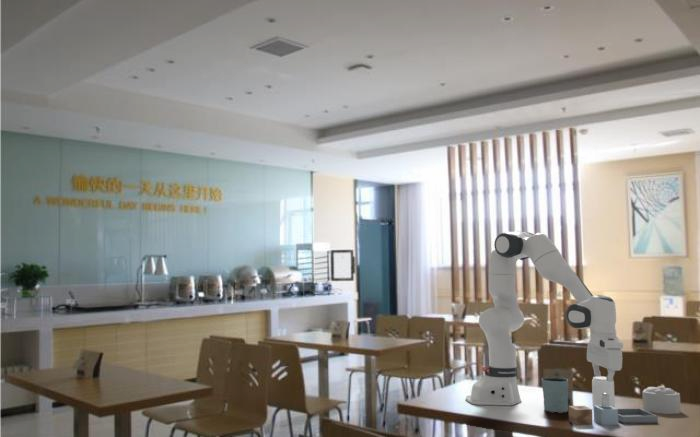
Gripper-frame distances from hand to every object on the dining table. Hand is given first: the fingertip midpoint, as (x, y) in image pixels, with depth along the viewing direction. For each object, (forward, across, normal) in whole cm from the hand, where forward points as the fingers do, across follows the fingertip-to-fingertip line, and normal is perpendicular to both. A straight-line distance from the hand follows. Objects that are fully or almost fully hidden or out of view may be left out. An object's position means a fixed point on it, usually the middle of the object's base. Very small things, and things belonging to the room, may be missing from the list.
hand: (603, 378), depth 227 cm
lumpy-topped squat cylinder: (+15, -15, +31) cm, 38 cm away
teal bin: (+16, -19, -10) cm, 27 cm away
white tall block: (+16, -20, +10) cm, 28 cm away
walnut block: (+16, +1, -9) cm, 18 cm away
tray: (+15, -3, +12) cm, 20 cm away
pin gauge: (+14, +1, +1) cm, 14 cm away
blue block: (+16, +1, +1) cm, 16 cm away
